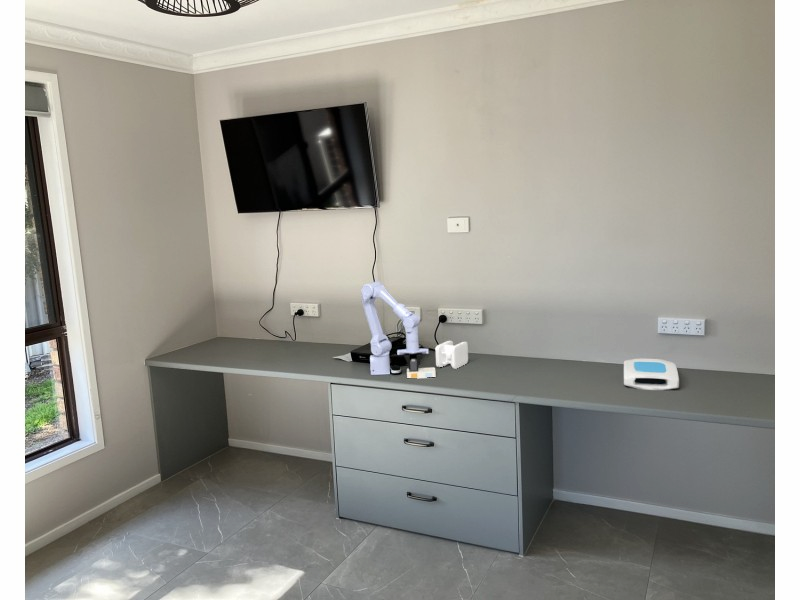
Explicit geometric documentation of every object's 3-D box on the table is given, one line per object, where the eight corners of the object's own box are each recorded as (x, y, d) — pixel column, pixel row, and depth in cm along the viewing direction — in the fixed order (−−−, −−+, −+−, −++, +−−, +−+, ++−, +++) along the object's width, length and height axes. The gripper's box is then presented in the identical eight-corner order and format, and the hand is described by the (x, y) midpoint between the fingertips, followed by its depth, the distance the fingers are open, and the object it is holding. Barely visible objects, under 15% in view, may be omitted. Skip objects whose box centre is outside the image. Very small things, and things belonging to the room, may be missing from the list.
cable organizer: (454, 371, 300) (453, 347, 298) (435, 369, 306) (434, 345, 304) (468, 363, 313) (468, 340, 311) (450, 361, 318) (449, 339, 317)
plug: (410, 374, 294) (410, 360, 293) (410, 372, 297) (410, 358, 296) (417, 373, 294) (416, 360, 293) (417, 371, 297) (416, 358, 296)
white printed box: (407, 379, 292) (406, 372, 291) (407, 374, 299) (407, 368, 298) (435, 377, 291) (435, 371, 291) (435, 373, 298) (434, 367, 298)
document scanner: (673, 372, 281) (674, 359, 280) (678, 391, 255) (679, 376, 254) (623, 370, 288) (623, 357, 287) (623, 388, 262) (623, 374, 261)
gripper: (396, 343, 289) (398, 371, 291) (428, 341, 288) (429, 370, 290) (396, 339, 295) (398, 367, 298) (427, 338, 295) (429, 366, 297)
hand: (413, 368), depth 295 cm, fingers closed on plug, 3 cm apart
